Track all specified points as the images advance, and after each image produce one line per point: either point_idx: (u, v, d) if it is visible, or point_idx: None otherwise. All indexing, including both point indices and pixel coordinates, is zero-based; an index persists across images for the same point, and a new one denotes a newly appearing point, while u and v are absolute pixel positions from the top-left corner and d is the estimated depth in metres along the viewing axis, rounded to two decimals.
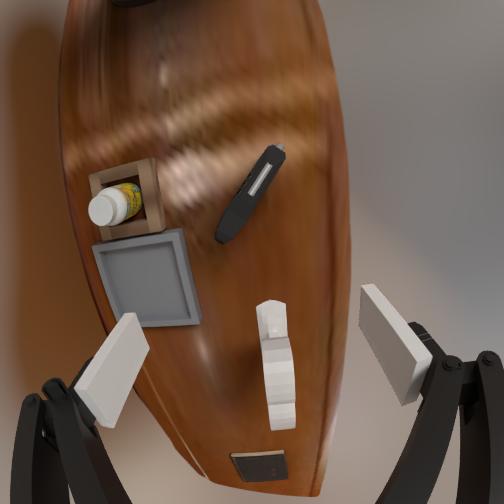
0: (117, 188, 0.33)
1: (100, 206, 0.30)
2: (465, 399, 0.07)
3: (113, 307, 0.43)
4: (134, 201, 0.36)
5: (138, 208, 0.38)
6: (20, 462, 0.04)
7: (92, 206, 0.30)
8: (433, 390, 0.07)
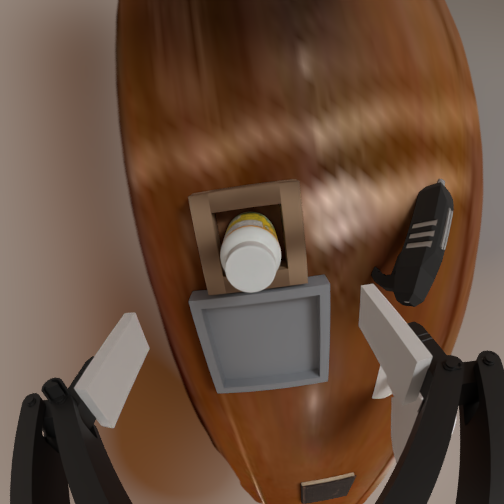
0: (263, 227, 0.23)
1: (252, 263, 0.21)
2: (465, 399, 0.07)
3: (213, 373, 0.34)
4: None
5: None
6: (20, 462, 0.04)
7: (233, 262, 0.21)
8: (433, 390, 0.07)
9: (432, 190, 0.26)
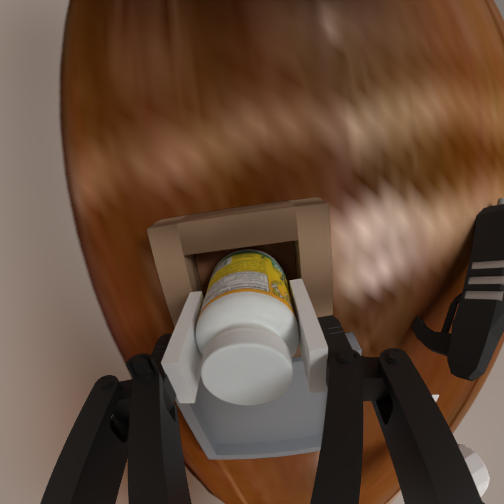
0: (269, 291, 0.13)
1: (249, 369, 0.10)
2: (369, 394, 0.09)
3: (202, 443, 0.23)
4: None
5: None
6: (73, 449, 0.06)
7: (215, 367, 0.10)
8: (331, 385, 0.08)
9: (496, 215, 0.15)
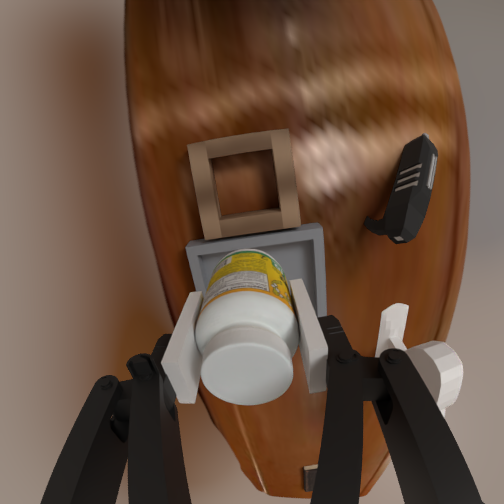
0: (269, 291, 0.13)
1: (249, 368, 0.10)
2: (369, 394, 0.09)
3: None
4: None
5: None
6: (73, 449, 0.06)
7: (215, 367, 0.10)
8: (331, 385, 0.08)
9: (416, 141, 0.27)
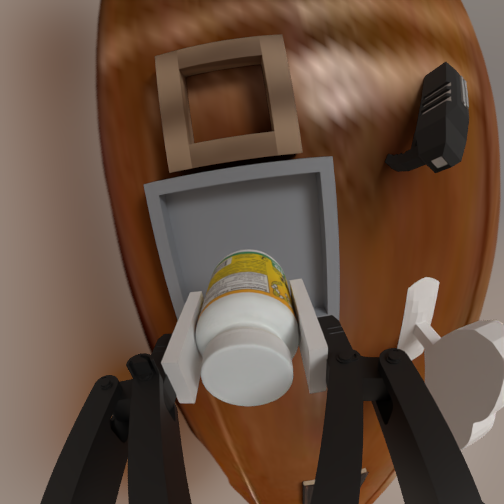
0: (269, 292, 0.13)
1: (249, 370, 0.10)
2: (369, 394, 0.09)
3: (177, 304, 0.25)
4: None
5: None
6: (73, 449, 0.06)
7: (215, 368, 0.10)
8: (331, 385, 0.08)
9: (438, 68, 0.17)
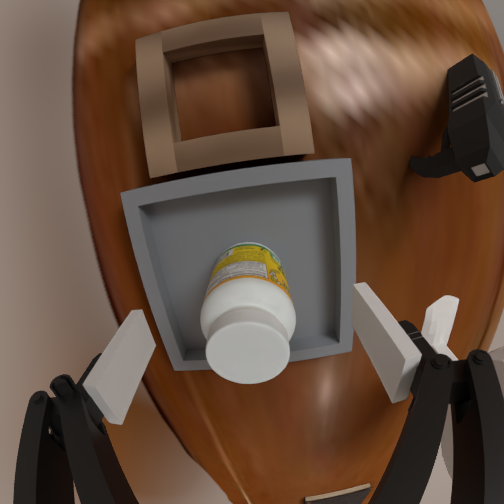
0: (268, 278, 0.15)
1: (250, 346, 0.12)
2: (455, 397, 0.07)
3: (164, 333, 0.21)
4: None
5: None
6: (25, 460, 0.04)
7: (219, 345, 0.12)
8: (423, 388, 0.07)
9: (464, 60, 0.13)
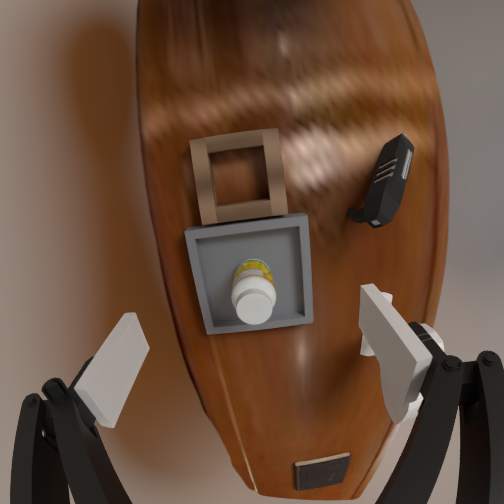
0: (263, 276, 0.32)
1: (255, 305, 0.29)
2: (465, 398, 0.07)
3: (204, 309, 0.38)
4: None
5: None
6: (20, 462, 0.04)
7: (242, 304, 0.29)
8: (433, 390, 0.07)
9: (394, 139, 0.31)
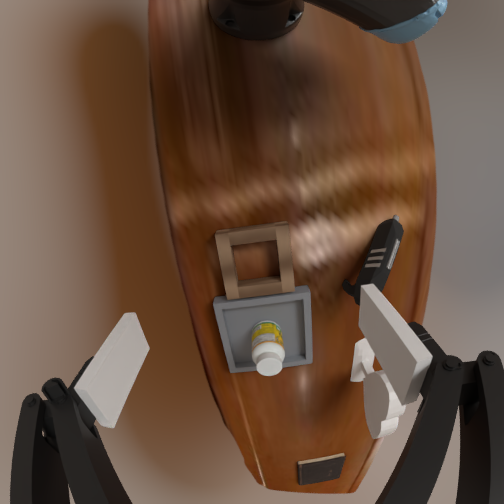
0: (275, 341, 0.41)
1: (270, 364, 0.39)
2: (465, 399, 0.07)
3: (228, 356, 0.48)
4: None
5: None
6: (20, 462, 0.04)
7: (261, 364, 0.39)
8: (433, 390, 0.07)
9: (387, 225, 0.40)
